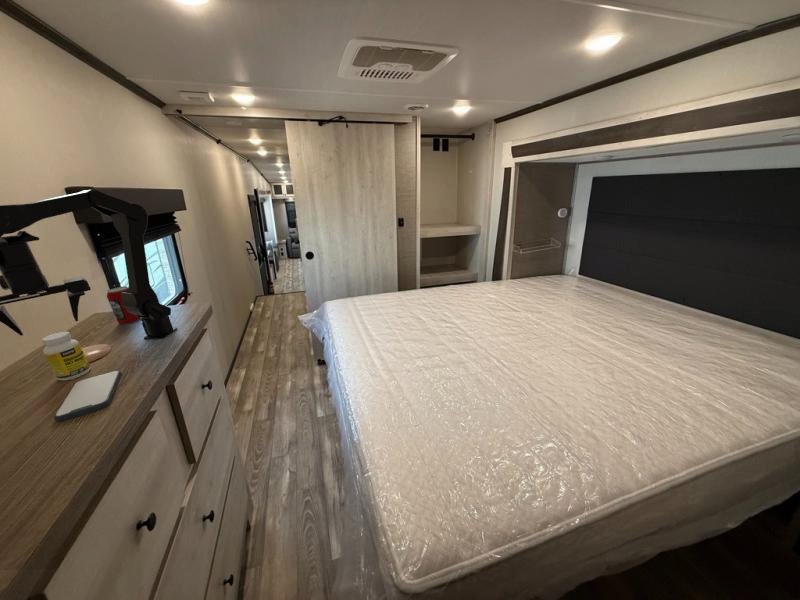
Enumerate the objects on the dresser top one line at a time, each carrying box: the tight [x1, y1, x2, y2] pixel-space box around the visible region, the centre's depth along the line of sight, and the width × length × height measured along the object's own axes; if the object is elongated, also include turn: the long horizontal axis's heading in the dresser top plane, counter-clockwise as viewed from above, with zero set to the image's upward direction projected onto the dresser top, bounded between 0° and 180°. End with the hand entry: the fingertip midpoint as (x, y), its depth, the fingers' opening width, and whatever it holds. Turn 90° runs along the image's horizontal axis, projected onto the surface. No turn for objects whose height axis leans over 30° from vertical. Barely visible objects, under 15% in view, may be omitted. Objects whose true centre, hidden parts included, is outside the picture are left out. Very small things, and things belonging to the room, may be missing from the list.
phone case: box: [53, 370, 122, 423], centre depth 71 cm, size 9×2×16 cm
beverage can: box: [106, 286, 141, 325], centre depth 109 cm, size 7×7×12 cm
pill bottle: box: [41, 331, 91, 381], centre depth 78 cm, size 6×6×11 cm
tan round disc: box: [81, 343, 112, 364], centre depth 89 cm, size 11×11×1 cm
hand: (50, 327), depth 76 cm, fingers open, 9 cm apart
